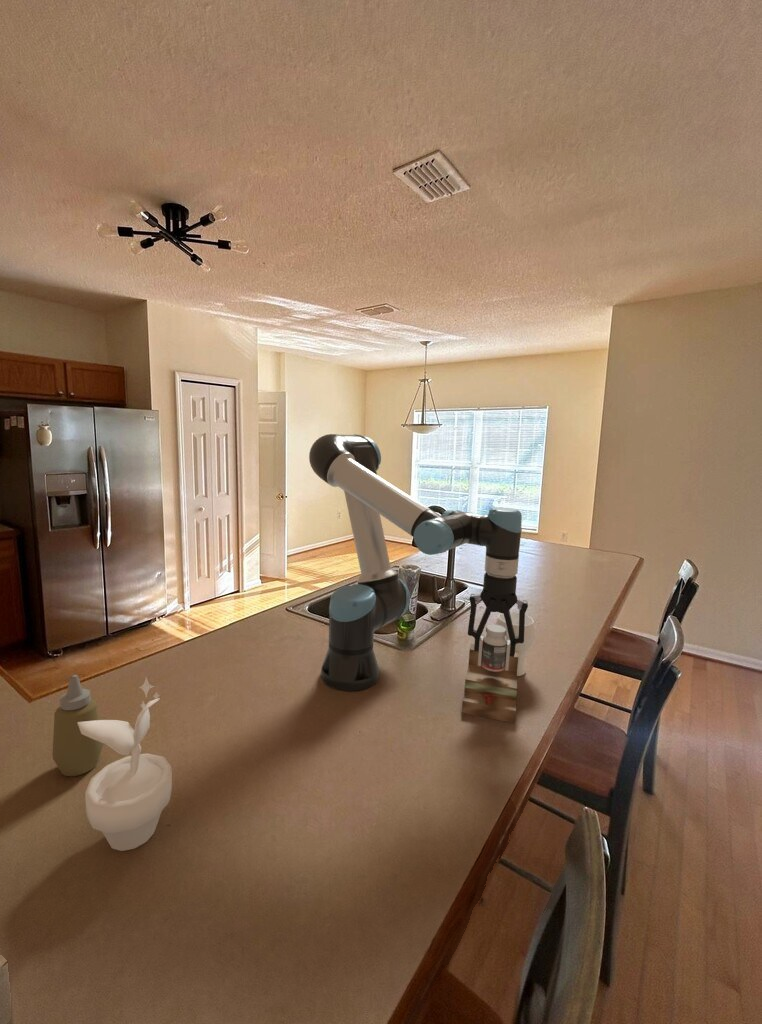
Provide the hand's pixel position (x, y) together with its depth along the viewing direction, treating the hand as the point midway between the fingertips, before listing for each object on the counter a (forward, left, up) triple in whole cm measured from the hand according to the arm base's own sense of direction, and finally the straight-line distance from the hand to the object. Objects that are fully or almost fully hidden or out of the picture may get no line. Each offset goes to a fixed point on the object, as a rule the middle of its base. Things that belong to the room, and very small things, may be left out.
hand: (493, 665), depth 112 cm
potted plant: (-52, -58, -9) cm, 79 cm away
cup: (+5, +18, -9) cm, 20 cm away
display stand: (0, 0, -9) cm, 9 cm away
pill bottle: (0, 0, -1) cm, 1 cm away
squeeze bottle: (-72, -49, -9) cm, 88 cm away
